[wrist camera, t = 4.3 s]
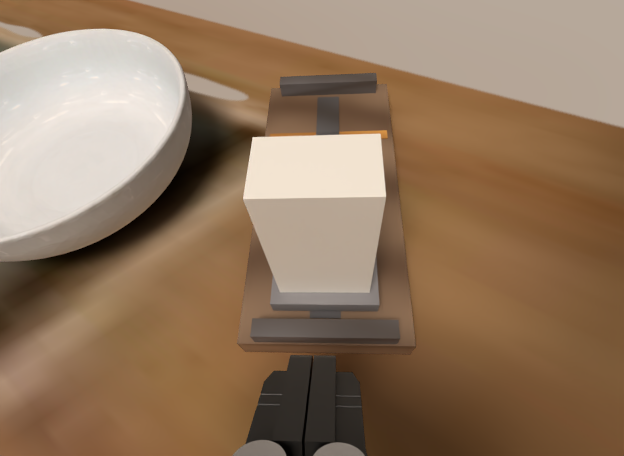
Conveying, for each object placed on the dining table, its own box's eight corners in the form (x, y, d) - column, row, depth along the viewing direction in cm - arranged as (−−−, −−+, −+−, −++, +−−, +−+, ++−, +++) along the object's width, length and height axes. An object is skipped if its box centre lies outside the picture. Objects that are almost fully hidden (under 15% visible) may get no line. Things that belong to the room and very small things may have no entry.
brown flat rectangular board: (410, 354, 22) (419, 340, 19) (245, 351, 23) (231, 338, 20) (384, 102, 33) (388, 71, 30) (275, 106, 34) (269, 76, 31)
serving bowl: (109, 71, 39) (67, 3, 33) (263, 143, 32) (245, 74, 26) (-84, 211, 31) (-186, 154, 25) (65, 352, 23) (-28, 319, 18)
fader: (377, 311, 21) (402, 213, 12) (273, 310, 21) (226, 215, 13) (373, 243, 23) (392, 120, 14) (279, 243, 24) (242, 125, 15)
